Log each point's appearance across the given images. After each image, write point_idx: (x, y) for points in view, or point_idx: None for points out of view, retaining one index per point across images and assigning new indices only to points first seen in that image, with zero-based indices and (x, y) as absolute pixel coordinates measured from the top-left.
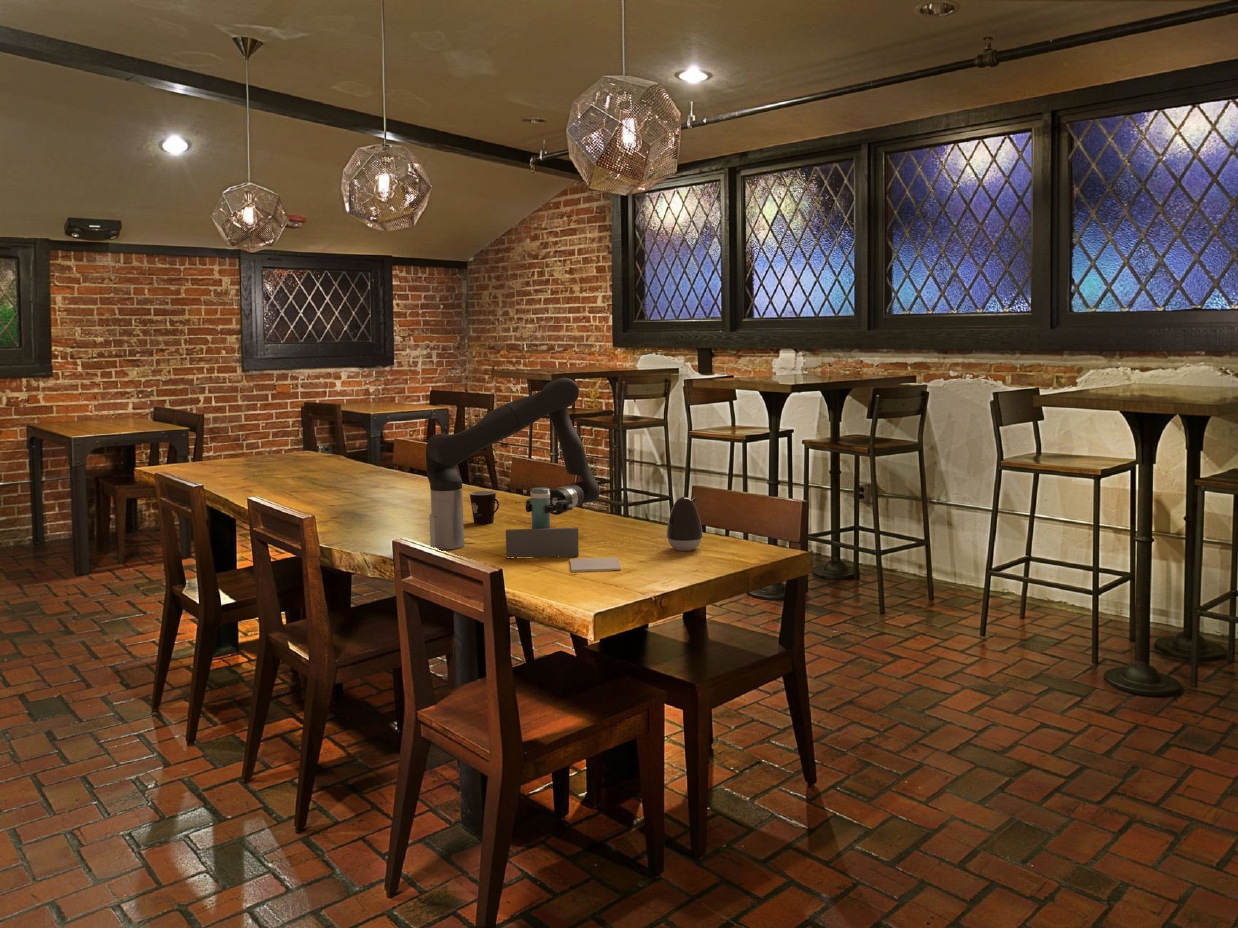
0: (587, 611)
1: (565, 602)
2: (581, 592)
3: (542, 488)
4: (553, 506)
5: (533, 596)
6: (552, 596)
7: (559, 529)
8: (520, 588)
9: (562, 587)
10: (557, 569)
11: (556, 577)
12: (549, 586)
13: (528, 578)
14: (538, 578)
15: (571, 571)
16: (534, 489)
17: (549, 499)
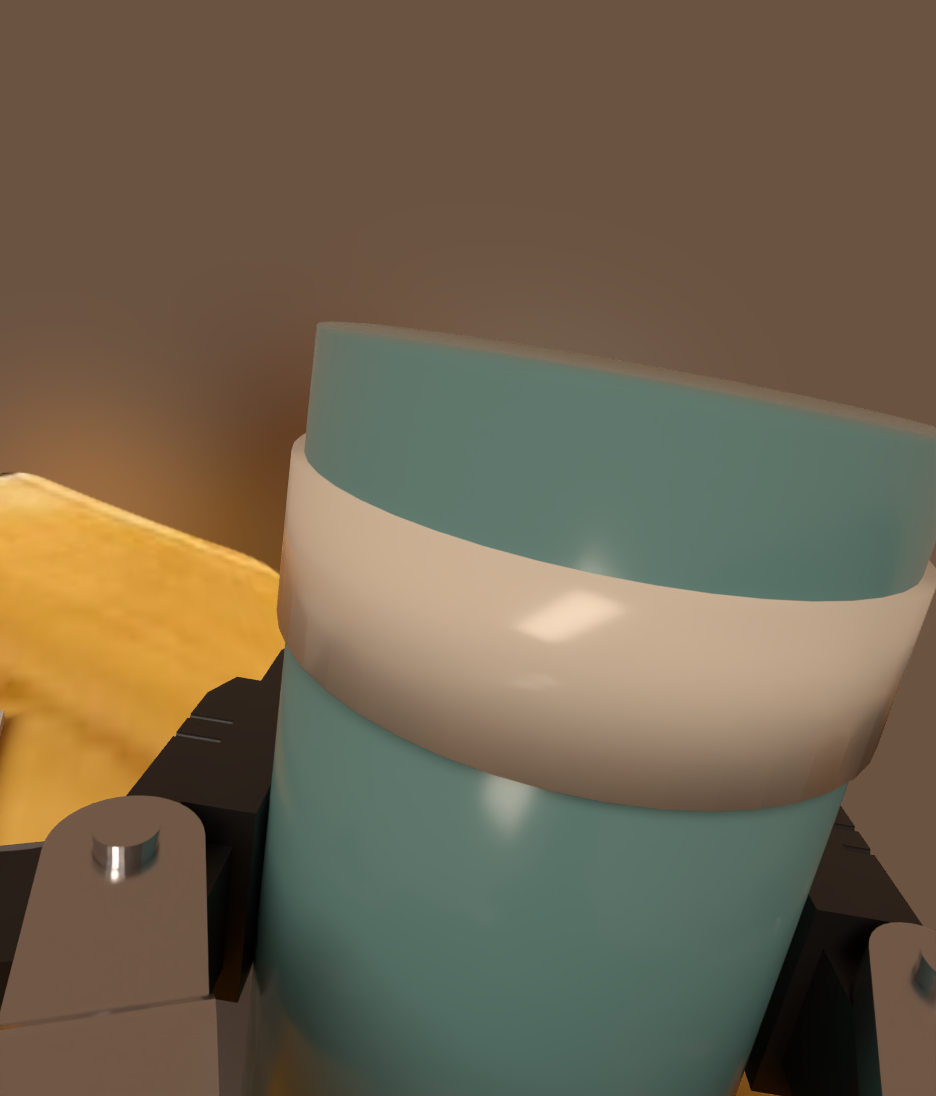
0: (33, 481)
1: (94, 514)
2: (17, 550)
3: (625, 380)
4: (144, 787)
5: (208, 546)
6: (139, 540)
7: (35, 846)
8: (272, 589)
9: (93, 583)
10: (100, 769)
11: (115, 663)
12: (152, 593)
13: (267, 659)
14: (215, 657)
15: (3, 720)
16: (705, 378)
17: (284, 654)
